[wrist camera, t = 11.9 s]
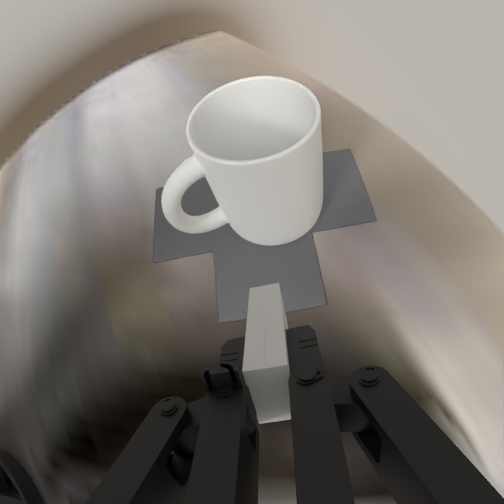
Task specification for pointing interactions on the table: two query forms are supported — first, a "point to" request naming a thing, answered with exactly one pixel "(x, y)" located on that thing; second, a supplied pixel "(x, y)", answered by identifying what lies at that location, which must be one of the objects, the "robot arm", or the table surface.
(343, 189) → the t mat
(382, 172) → the table surface
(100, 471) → the table surface
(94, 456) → the table surface
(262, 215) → the mug
